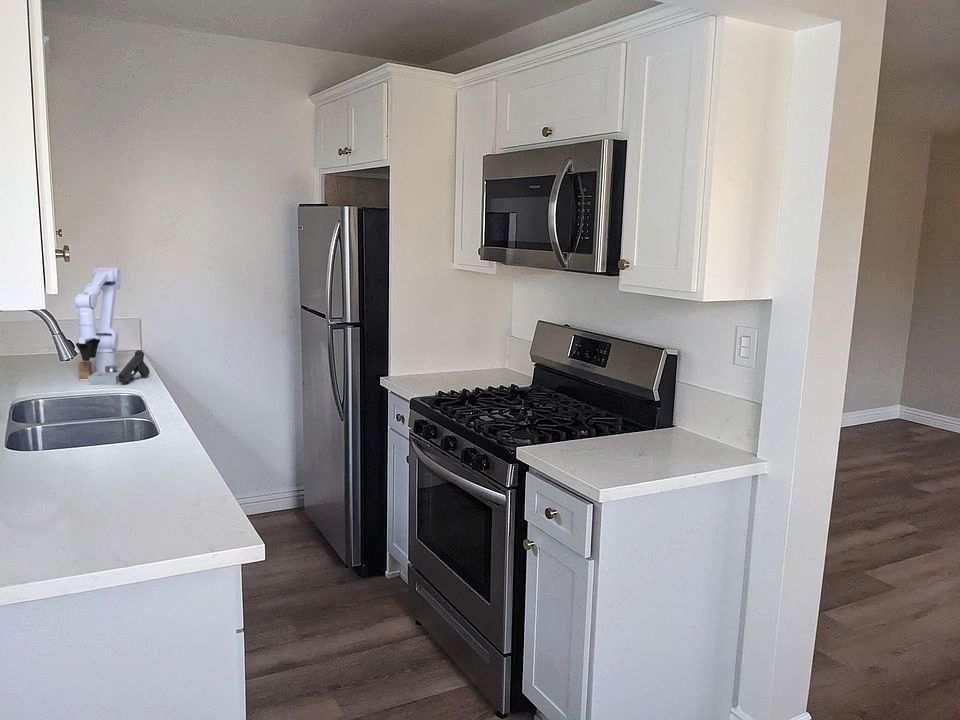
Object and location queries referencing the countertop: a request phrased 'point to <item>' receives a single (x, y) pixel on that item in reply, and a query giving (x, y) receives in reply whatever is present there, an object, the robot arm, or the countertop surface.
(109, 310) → the robot arm
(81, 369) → the square bit
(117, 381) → the socket block
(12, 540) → the countertop surface
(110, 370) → the round bit
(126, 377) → the handgun
